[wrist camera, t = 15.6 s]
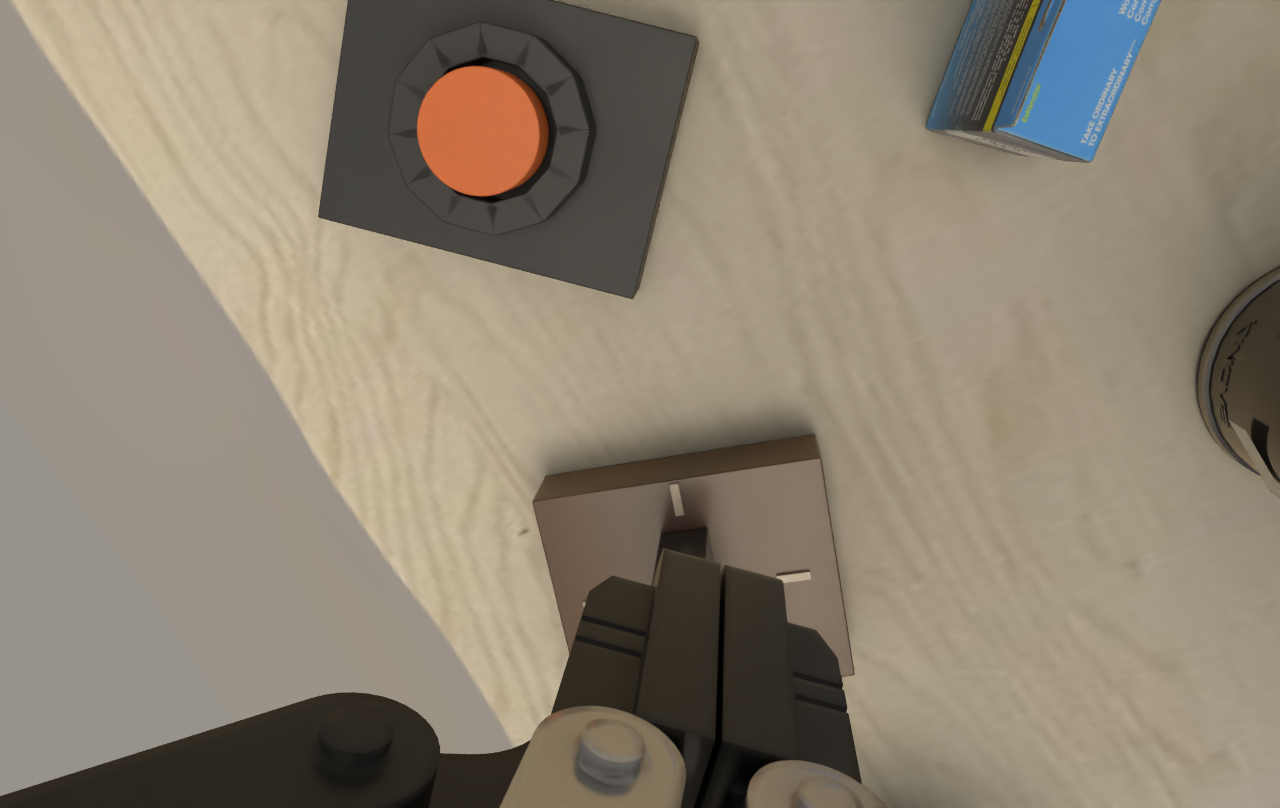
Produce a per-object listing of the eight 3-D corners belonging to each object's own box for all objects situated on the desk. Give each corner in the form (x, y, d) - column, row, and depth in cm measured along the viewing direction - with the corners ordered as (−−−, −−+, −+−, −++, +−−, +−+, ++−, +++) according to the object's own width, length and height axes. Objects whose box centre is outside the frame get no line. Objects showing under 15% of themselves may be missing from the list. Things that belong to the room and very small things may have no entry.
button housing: (699, 41, 37) (695, 32, 33) (638, 290, 40) (628, 308, 36) (375, -41, 37) (334, -59, 33) (339, 212, 40) (297, 222, 36)
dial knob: (660, 533, 40) (648, 600, 34) (707, 527, 39) (703, 592, 34) (683, 650, 41) (675, 731, 36) (729, 644, 41) (728, 726, 35)
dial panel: (814, 433, 41) (821, 458, 38) (847, 639, 44) (855, 677, 41) (545, 475, 43) (531, 502, 40) (592, 670, 45) (581, 710, 42)
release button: (560, 85, 34) (551, 83, 33) (535, 205, 36) (526, 210, 34) (442, 55, 35) (427, 51, 33) (422, 176, 36) (407, 179, 34)
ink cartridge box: (1016, 159, 37) (1148, 179, 25) (920, 129, 37) (1007, 134, 25) (1117, -84, 34) (1316, -189, 23) (1014, -117, 34) (1159, -239, 23)
